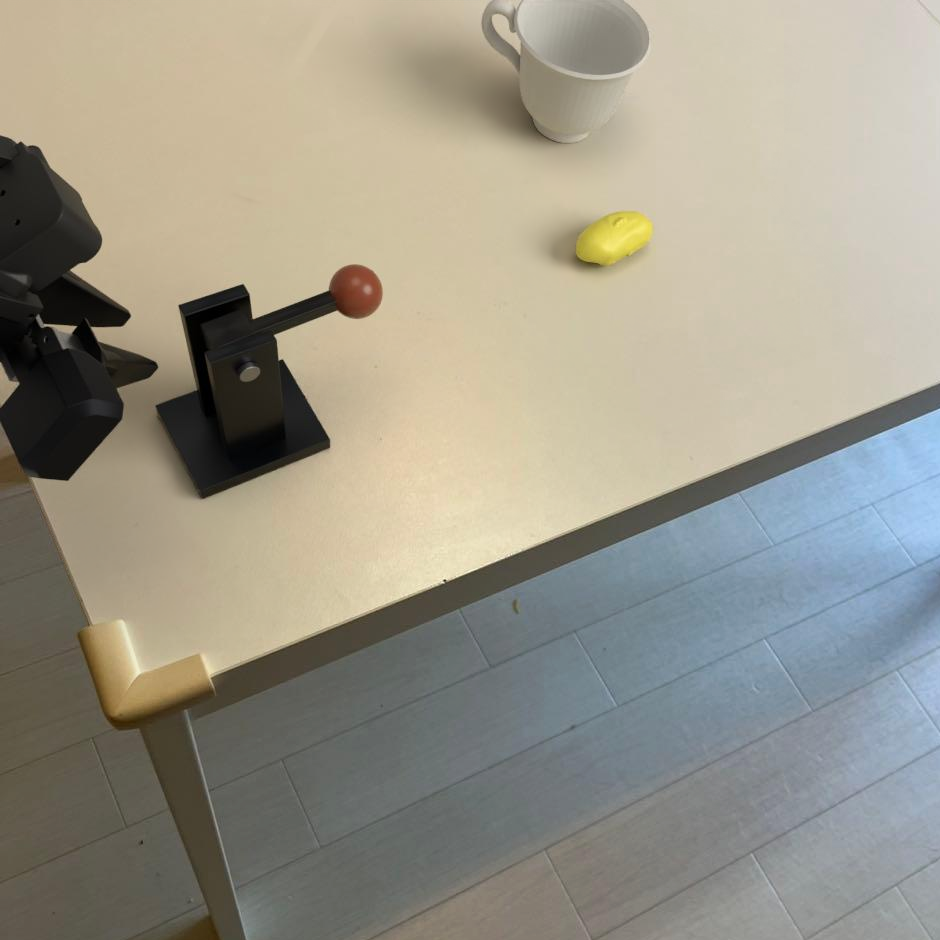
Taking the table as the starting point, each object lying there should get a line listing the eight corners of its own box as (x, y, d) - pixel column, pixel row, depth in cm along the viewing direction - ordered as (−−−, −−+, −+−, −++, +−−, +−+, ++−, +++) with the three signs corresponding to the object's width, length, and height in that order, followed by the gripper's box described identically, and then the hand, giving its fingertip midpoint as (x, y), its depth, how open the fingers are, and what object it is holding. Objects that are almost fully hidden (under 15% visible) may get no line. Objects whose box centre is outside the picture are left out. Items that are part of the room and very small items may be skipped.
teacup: (491, 51, 99) (505, -46, 90) (636, 101, 99) (664, 9, 91) (452, 132, 93) (464, 36, 84) (607, 185, 94) (634, 95, 85)
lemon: (658, 256, 91) (670, 225, 87) (583, 283, 88) (592, 251, 84) (633, 223, 92) (644, 190, 89) (558, 248, 89) (567, 215, 86)
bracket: (283, 367, 79) (273, 253, 68) (330, 448, 77) (328, 343, 65) (157, 414, 75) (124, 301, 64) (202, 499, 73) (176, 398, 62)
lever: (368, 280, 72) (366, 245, 69) (392, 318, 71) (392, 284, 67) (202, 343, 68) (193, 309, 65) (225, 384, 67) (217, 352, 64)
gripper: (31, 307, 42) (290, 372, 56) (-113, 17, 48) (155, 141, 62) (-99, 474, 46) (172, 496, 60) (-217, 188, 52) (55, 268, 66)
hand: (140, 344), depth 62 cm, fingers open, 4 cm apart
